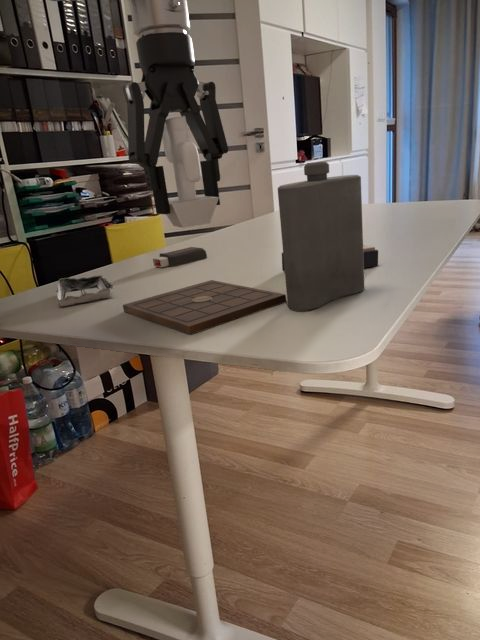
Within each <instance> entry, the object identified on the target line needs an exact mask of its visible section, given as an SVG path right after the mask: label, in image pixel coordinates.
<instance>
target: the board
mask: <svg viewBox="0 0 480 640" xmlns="http://www.w3.org/2000/svg"><path fill="white" fill-rule="evenodd" d="M286 302H287V293H281V292H275V291H270V290H266V289H265V290H264V289H259V288H255V287H249V286H245V285H239V284H233V283H229V282H223V281H218V280H213V279H210V280H206V281H203V282H200V283H195V284H193V285H189V286H185V287H182V288H178V289H174V290H171V291H168V292H163V293H160V294H157V295H153V296H150V297H145V298H143V299H139V300H138V299H137V300H135V301H131V302H128V303H125V304H122V309H123V312H124V313H127V314H130V315H133V316H135V317H138V318H142V319H145V320H146V321H149V322H152V323H153V322H154V323H156V324H159V325H161V326H164V327H167V328H169V329H173V330H176V331H179V332H182V333H186V334H188V335H193V334H196V333H199V332H202V331H205V330H207V329H211V328H214V327H217V326H219V325H222V324H225V323H228V322H231V321H234V320H236V319H239V318H243V317H246V316H248V315H251V314H254V313H258V312H260V311H263V310H266V309H269V308H271V307H274V306H277V305H281V304H284V303H286Z"/></svg>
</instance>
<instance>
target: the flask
mask: <svg viewBox="0 0 480 640" xmlns="http://www.w3.org/2000/svg"><path fill="white" fill-rule="evenodd" d="M303 173H304V174H303V175H304V176H306V180H303V181H296V182H292V183H291V182H290V183H286V184H282V185H279V186H278V187H277V199H278V210H279V220H280V231H281V232H280V233H281V242H282V243H281V245H282V253H283V257H284V268H285V271H284V278H285V287H286V288H285V290H286V302H287V307H288V309H290V310H292V311H294V312H295V311H296V312H308V311H312V310H316V309H318V308H319V307H322V306H324V305H326V304H328V303H330V302H333V301H336V300H338V299H341V298H344V297H348V296H351V295H355V294H359V293H361V292H363V291H364V290H365V268H364V257H363V245H364V234H363V233H364V232H363V231H364V229H363V201H362V200H363V199H362V198H363V197H362V176H361V175H359V174H346V175H337V176H336V175H335V176H328V174H329V173H330V163H329V162H327V161H315V162H306V164H304V166H303Z"/></svg>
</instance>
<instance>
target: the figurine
mask: <svg viewBox="0 0 480 640" xmlns="http://www.w3.org/2000/svg"><path fill="white" fill-rule="evenodd" d="M189 130H190V128H189V127H188V124H187V122H186V117H185V116H183V117H182V116H176V117H170V118H166V121H165V126H164V131H163V136H162V145H163V150H164V155H165V158H166V160H167V162H169V163H171V164H172V166H173V167H172V168H173V173H174V179H175V185H176V192H177V198H175V199H168V201H169V207H170V213H171V214H165V215H166V217H167V218H168V220H169V221H170V223H171V224H172V226H173V227H177V228H182V229H185V228H190V227H196V226H202V225H208V224H211V221H212V219H213V216H214V213H215V211H216V208H217V206H218V205H217V202H218V199H220V196H219V197H211V196H205V195H198V196H197V189H196V183H197V182H200V181H201V179H202V171H201V164H200V155H199V151H198V148H197V144H195V143H194V142H193V141H191V140H190V138H191V134H190V133H191V132H190V131H189Z"/></svg>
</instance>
